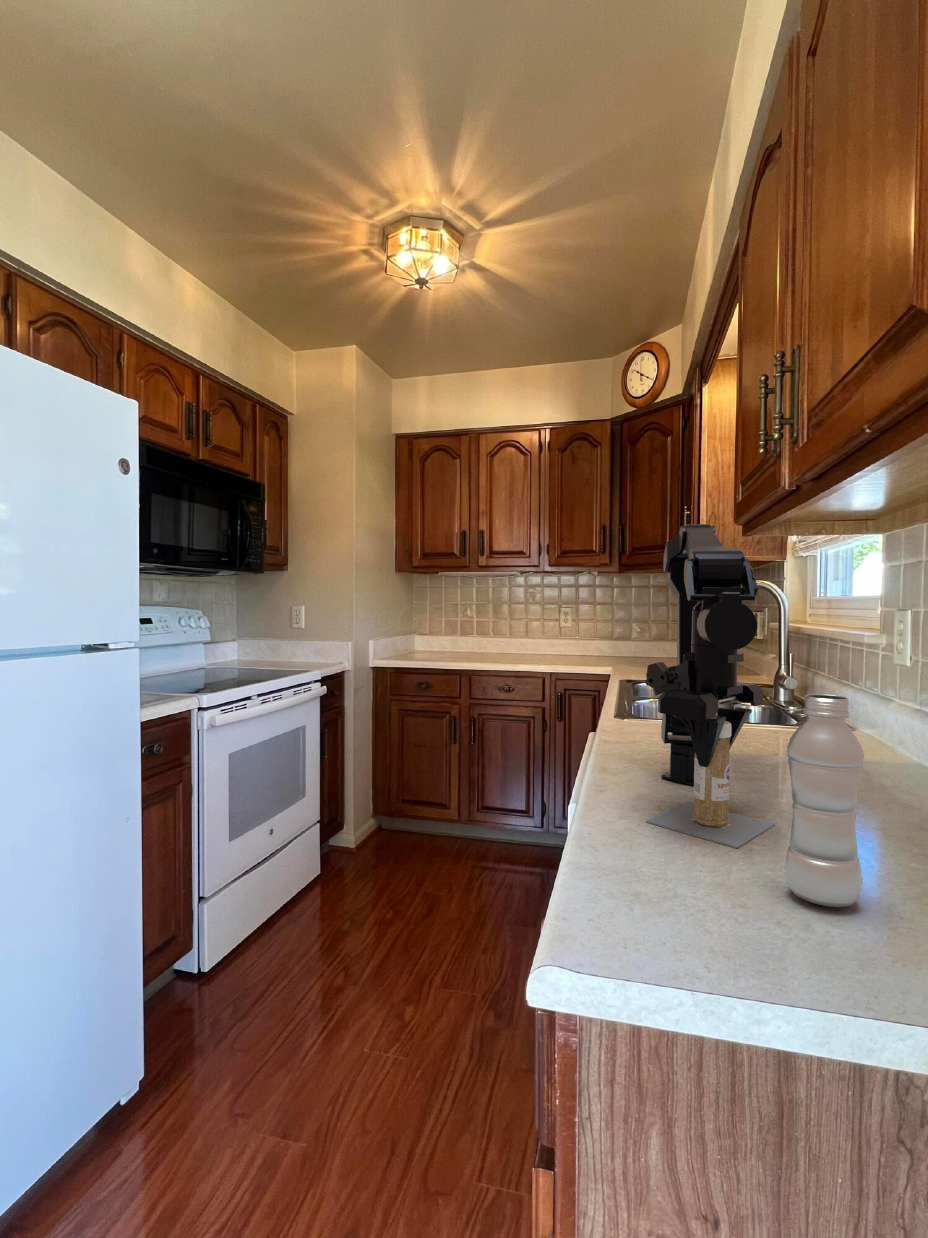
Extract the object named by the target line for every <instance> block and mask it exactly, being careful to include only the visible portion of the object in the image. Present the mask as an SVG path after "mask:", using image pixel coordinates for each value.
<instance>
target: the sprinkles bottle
mask: <svg viewBox="0 0 928 1238" xmlns="http://www.w3.org/2000/svg"><path fill="white" fill-rule="evenodd" d="M730 737H731V723H730V722H727V721H725V722H724V725H723V728H722V731H721V733H720V736H719V739H718V742H717V745H716V748H715V750H714V753H713V756H712V759H711V761H710V764H709V766H708V767H702V766H700V765H699V763H698V760H697V757H696V753H695V758H694V785H693V797H694V802H693V803H694V814H693V819H694V820H695V821H696V822H698V823H699V824H702V825H706V826H711V827H719V826H720V827H721V826H725V825H728V824H729V818H728V812H729V801H730V800H729V799H730V767H731V766H730V750H729V746H730V743H729V741H730Z"/></svg>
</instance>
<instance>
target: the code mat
mask: <svg viewBox="0 0 928 1238" xmlns="http://www.w3.org/2000/svg"><path fill="white" fill-rule="evenodd" d="M693 814H694V802H691V801H687V802H686V803H683V804H681V805H678V806H676V807H674V808H672V809H669V810H667V811H665V812H662V813H661V814H658V815H656V816H654V817H652V818H649V819H646V820H645V823H647V824H651V825H655V826H658V827H661V828H665V829H668V830H672V831H675V832H679V833H682V834H685V835H689V836H692V837H696V838H700V839H703V840H706V841H710V842H713V843H716V844H719V845H724V846H727V847H731V848H734V849H737V850H738V849H739V848H741V847H742V846H744V845H746V844H747V843H749V842H751V841H753V840H754V839H755V838H757V837H759V836H760V835H762V834H763V833H765V832H766V831H768V830H769V829H771V828H773V827H775V826H776V823H774V822H771V821H766V820H763V819H758V818H755V817H751V816H747V815H743V814H742V815H741V814H739V813H734V812H732V811H730V812H729V811H728V818H729V824H728V825H725V826H721V827H720V826H719V827H711V826H706V825H702V824H699V823H698V822H696V821H695V820H694V819H693Z"/></svg>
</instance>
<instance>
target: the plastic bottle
mask: <svg viewBox="0 0 928 1238" xmlns="http://www.w3.org/2000/svg"><path fill="white" fill-rule="evenodd" d="M802 714H804V715H806V717H805V721H803V722H802V724H800V725H799V727H797V729H796V730H795V731H794V732H793V734H792V735H791V737H789V742H788V743H787V748H786V749H787V750H786V751H787V752H786V754H787V757H788V759H787V761H788V762H787V763H788V767H789V774H790V775H789V776H790V781H791V799H792V819H791V821H792V822H791V829H790V838H789V845H788V848H787V852H786V857H785V862H784V873H785V879H786V880H785V881H786V884H787V886H788V887H789V888H790V890H791V891H792V892H793V894H794V895H795V896H797V897H798V898H800V899H802V900H803V901H806V902H809V903H812V904H815V905H818V906H819V905H820V906H824V907H830V908H846V907H850V906H852V905H853V904H855V902H856V901H857V900H858V899H859V898H860V896H861V891H862V888H863V883H864V882H863V876H862V875H863V874H862V867H861V862H860V858H859V857H858V856H859V854H858V842H857V841H858V839H857V829H856V820H857V812H856V810H857V807H858V795H859V789H860V783H861V778H862V772H863V765H864V759H865V758H864V757H865V754H864V749H863V747H862V744H861V743H860V741H859V740H858V738H857V736H856V735H855V733H854V732H853V731H852V730H851V728H850V727H849V725H847V722H846V719H848V718H850V712H849V697H847V696H842V695H834V694H821V693H820V694H819V693H818V694H817V693H815V694H814V693H809V694H806V695H805V698H804V708H803V712H802Z"/></svg>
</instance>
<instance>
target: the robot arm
mask: <svg viewBox="0 0 928 1238" xmlns="http://www.w3.org/2000/svg"><path fill="white" fill-rule="evenodd" d="M750 564H751V563H750V560H749V558H746V555H745V553H744V552H743V551H742V550H741V549H739V548H736V547H728V546H724V545H723V544H722V542H721V541H720V539H719V537H718V536H717V534H716V527H715V525H711V524H708V523H699V524H693V523H692V524H689V523H688V524H685V525H681V526H680V528H679V533H678V534H676V535H675V536H674V537H672V538H671V539H669V540H668V541H667V542H666V544H665V548H664V553H663V565H662V566H663V573H664V574H665V573H666V576H667V577H666V578H667V579H666V580H667V581H666V583H667V587H668V588H669V589H670V591H671V592H672V593H673V595H674V596H675V598H676V641H677V642H676V665H671V666H669V667H668V666H667V665H666V664H665V663H664V662H662V661H659V662H654V663H651V664H648V665H647V668H646V673H645V674H646V675H645V677H646V679H645V682H644V683H645V685H646V686H648V687H650V688H651V689H652V691H653V693H654V696H656V697H657V696H658V697H657V699H658V704H657V707H658V708H657V712H658V713H659V714H662V719H661V727H660V730H661V731H660V732H661V735H660V736H661V740H662V742H663V744H664V745H665V744H670V753H669V754H670V755H669V757H670V758H669V771H668V772H665V773H663V774H661V779H664V780H669V781H673V782H677V783H680V784H685V785H691V786H694V758H695V753H696V757H697V760H698V763H699V765H700V766H702V767H708V766H709V764H710V761H711V759H712V756H713V753H714V750H715V748H716V745H717V742H718V739H719V736H720V733H721V731H722V728H723V725H724V722H725V721H727V722H730V723H731V737H730V741H729V743H730V746H729V751H730V750H731V748H732V746H733V744H734V743H735V741H736V739H737V737H738V735H739V733H740V731H741V730H742V728H743V726H744V725H745V723H746V721H747V719H748V717H749V716H750V714H752V713H753V709H752V708H746V707H742V704H743V703H749V705H750V706H751V707H759V706H761V705H764V690H763V689H762V688H761V687H760V686H759V685H758V684H757V683H749V682H739V681H738V671H739V670H738V668H739V667H738V666H739V665H738V663H742V662H744V656H745V655H744V653H740V652H739V650H740V649H742V648H745V647H746V646H748V645H750V643H751V642H752V641H753V639H754V638H755V636H756V635H757V630H758V621H757V619H756V616H755V614H754V612H753V611H752V609H750V608H749V607H748V606H747V605H746V604H744V603H742V602H755V600H756V596H757V593H758V590H759V588H758V584H757V580H756V575H755V572H754V569H753V567H752V566H751V565H750ZM670 733H671V734H670Z"/></svg>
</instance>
